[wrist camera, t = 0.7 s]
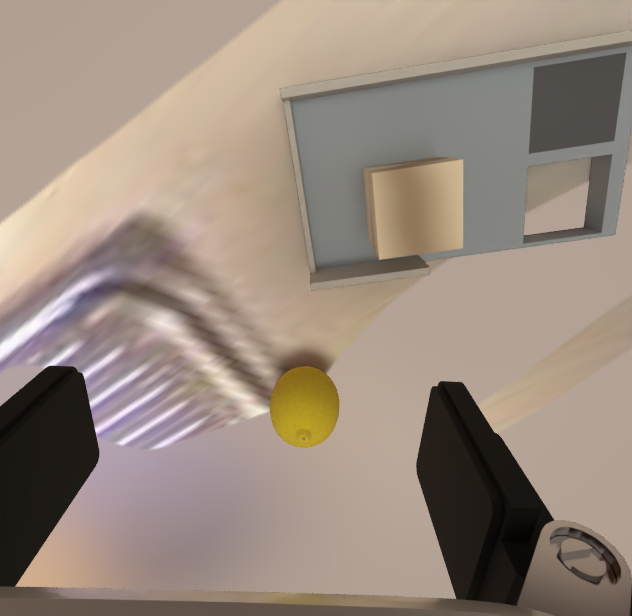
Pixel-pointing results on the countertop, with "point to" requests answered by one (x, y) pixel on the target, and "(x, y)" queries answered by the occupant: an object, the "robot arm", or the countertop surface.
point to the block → (414, 206)
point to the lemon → (304, 406)
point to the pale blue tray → (460, 146)
